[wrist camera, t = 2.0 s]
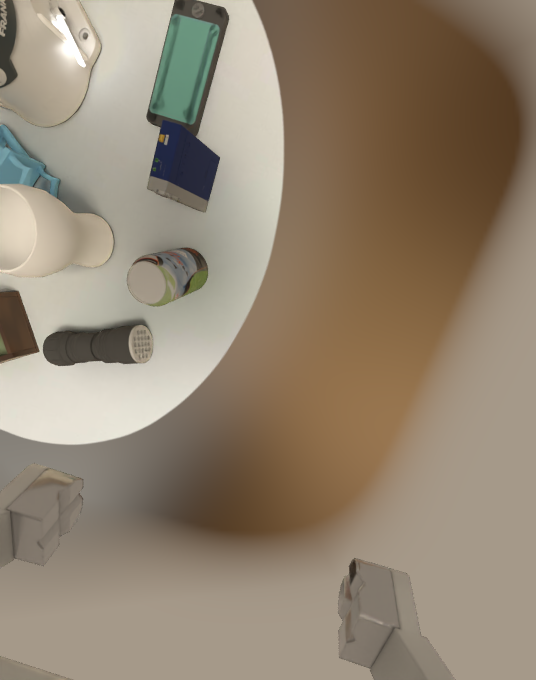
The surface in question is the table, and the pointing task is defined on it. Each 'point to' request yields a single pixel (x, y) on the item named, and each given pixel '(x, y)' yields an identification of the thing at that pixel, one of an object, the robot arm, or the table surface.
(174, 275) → the beverage can
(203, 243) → the table surface
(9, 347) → the can holder
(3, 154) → the chair
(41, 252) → the cup
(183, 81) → the smartphone
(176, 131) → the blue rectangular block
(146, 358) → the flashlight
